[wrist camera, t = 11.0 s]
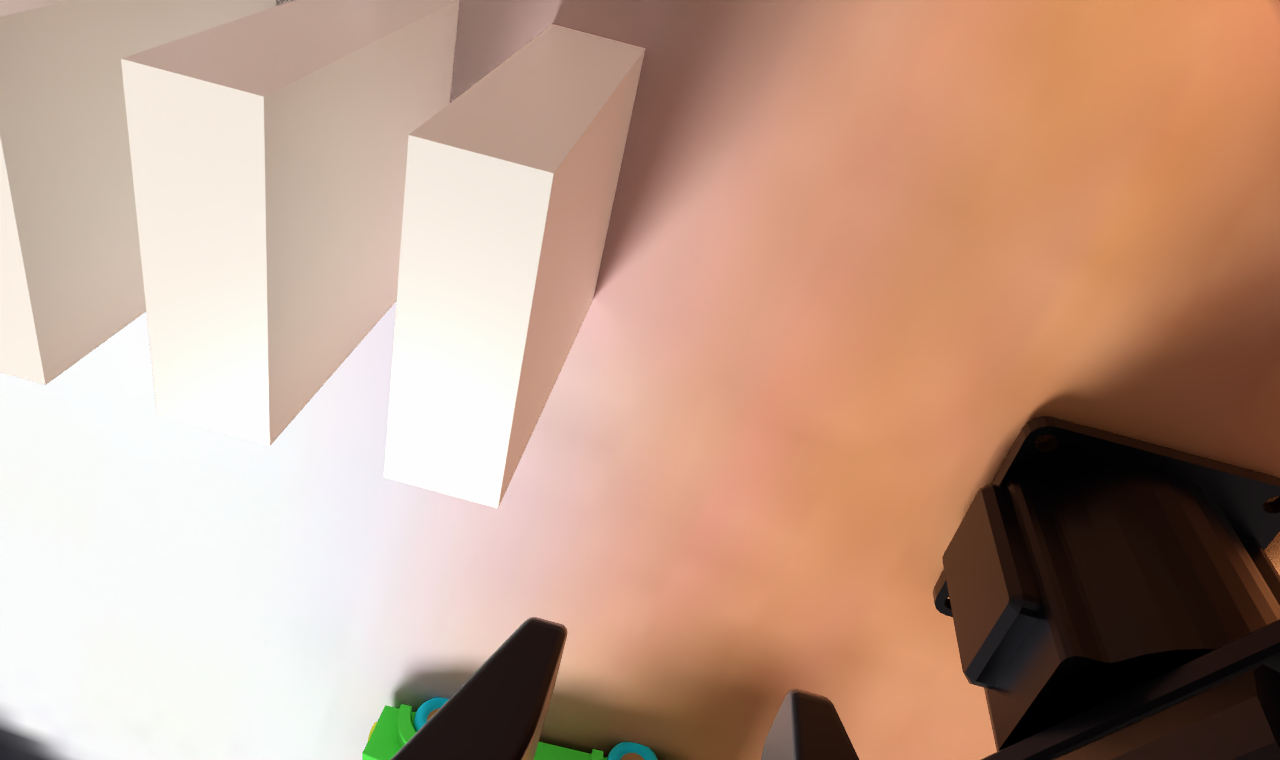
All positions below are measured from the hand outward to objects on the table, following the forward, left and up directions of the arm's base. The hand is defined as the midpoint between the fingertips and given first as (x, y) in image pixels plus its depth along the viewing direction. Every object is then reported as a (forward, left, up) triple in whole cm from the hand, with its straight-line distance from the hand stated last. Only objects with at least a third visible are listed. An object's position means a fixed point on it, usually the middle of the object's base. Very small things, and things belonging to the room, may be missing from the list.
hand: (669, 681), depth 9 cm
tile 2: (+8, 0, -13) cm, 15 cm away
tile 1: (+4, 0, -13) cm, 14 cm away
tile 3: (+12, 0, -13) cm, 18 cm away
